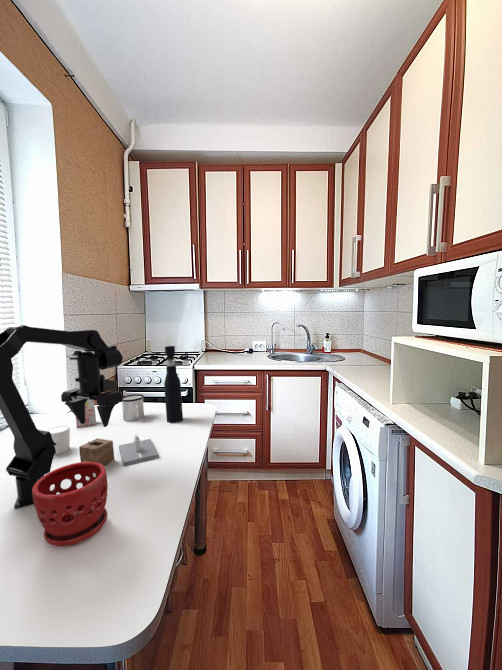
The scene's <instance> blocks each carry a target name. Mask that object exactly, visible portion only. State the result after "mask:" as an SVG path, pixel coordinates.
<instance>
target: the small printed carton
mask: <svg viewBox="0 0 502 670" xmlns="http://www.w3.org/2000/svg"><path fill="white" fill-rule="evenodd" d="M96 416H97V415H96V407H95V400H89V399H88V400H87V402H86V403H85V423H84V424H81V423H80V422H79V420H78V419H77V417H76V416H75V422H76V424H75V425H76V428H82V427H90V426H95V425H96V424H97V417H96Z"/></svg>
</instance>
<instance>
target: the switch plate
mask: <svg viewBox="0 0 502 670" xmlns="http://www.w3.org/2000/svg"><path fill="white" fill-rule="evenodd" d="M118 450H119V454H120V458H121V463H122V465H123V466H128V465H132V464H137V463H140V462H144V461H149V460H153V459H157V458H159V453H158V451H157V449H156V447H155V445H154V443H153V442H152V440H151V438H148V439H147V438H146V439H143V440H140V438H139V434H134V437H133V442H129V443H123V444H120V445H118Z"/></svg>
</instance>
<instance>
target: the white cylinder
mask: <svg viewBox="0 0 502 670" xmlns="http://www.w3.org/2000/svg"><path fill="white" fill-rule="evenodd" d="M47 431H48V432H50V433H51V436H52V439H53V441H54V442H55V443H56V445H55V446H54V447H55V450H56V453H55V454H54V455H56V454H62V453H65V452H67V451H68V450H70V445H71V444H70V441H71V439H70V436H71V435H70V433H71V429H70V426H67V425H66V426H65V425H63V426H62V425H61V426H56V427H52V428H50V429H48V430H47Z"/></svg>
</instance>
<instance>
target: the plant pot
mask: <svg viewBox="0 0 502 670" xmlns="http://www.w3.org/2000/svg"><path fill="white" fill-rule="evenodd" d="M94 474H95V476H94ZM77 475H80V478H79V479H77V478H75V477H76V476H77ZM87 477H88V478H89V479H86V478H87ZM65 480H69V481H70V483H71V484H70V485H69V487H67V488H62V482H64V481H65ZM78 484H82V486H81V487H79V488H78V486H77V485H78ZM52 486H54V487H53V489H52V490H51V487H52ZM108 487H109V486H108V475H107V471H106V467H105V466H103V465H102V464H100V463H97V462H81V461H80V462H75V463H74V462H73V463H71V464H66V465H63V466H61V467H58V468H56V469H54V470H52V471H51V470H50V472H49V473H47V474H45V475H44V476H43V477H42V478H40V479H39V480H38V481H37V482H36V483H35V484H34V486H33V488H32V495H33V502H34V503H33V505H34V509H35V511H36V515H37V518H38V522H39V523H40V525H41V527H43V537H44V540H45V542H46V543H48V544H49V545H50V546H54V547H61V548H62V547H70V546H75V545H78V544H81V543H83V542H85V541H87V540H88V539H90V538H92V537H94V536H95V535H96V534H97V533H98V532H100V530H101V529H102V528H103V527H104V526H105V524H106V522H107V520H108V510H107V509H106V508H105V507H106V504H107V500H108V490H109V489H108ZM43 493H44V494H43Z"/></svg>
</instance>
